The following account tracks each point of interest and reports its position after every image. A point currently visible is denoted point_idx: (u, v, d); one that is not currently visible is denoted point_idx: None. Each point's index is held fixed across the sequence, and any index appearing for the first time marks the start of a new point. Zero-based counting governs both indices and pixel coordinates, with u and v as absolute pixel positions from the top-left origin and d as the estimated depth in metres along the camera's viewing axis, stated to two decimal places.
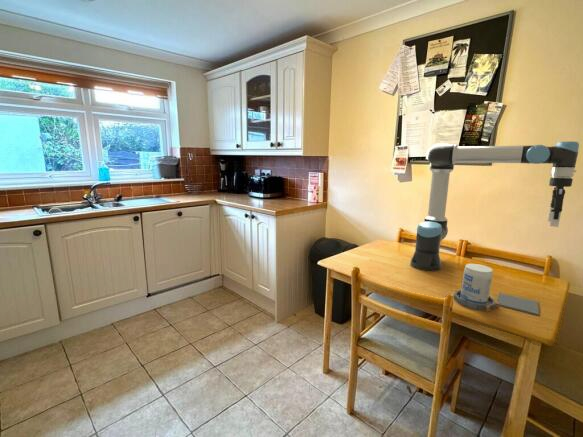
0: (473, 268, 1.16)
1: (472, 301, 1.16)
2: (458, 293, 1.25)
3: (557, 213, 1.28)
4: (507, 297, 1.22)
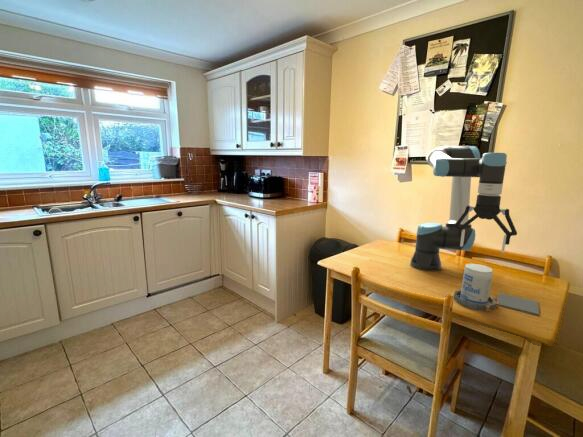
0: (473, 268, 1.16)
1: (472, 301, 1.16)
2: (458, 293, 1.25)
3: (458, 230, 1.19)
4: (507, 297, 1.22)
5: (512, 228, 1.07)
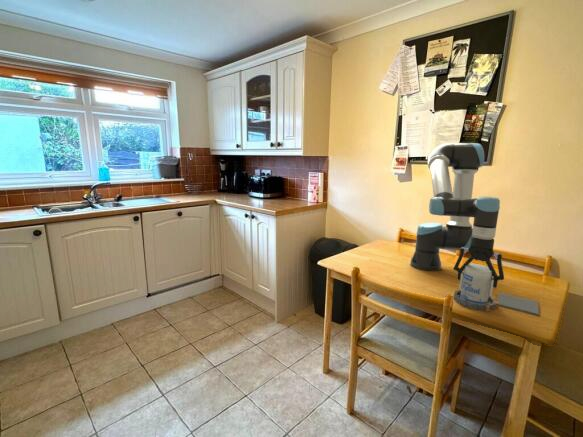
0: (473, 268, 1.16)
1: (472, 301, 1.16)
2: (458, 293, 1.25)
3: (458, 273, 1.21)
4: (507, 297, 1.22)
5: (500, 273, 1.12)
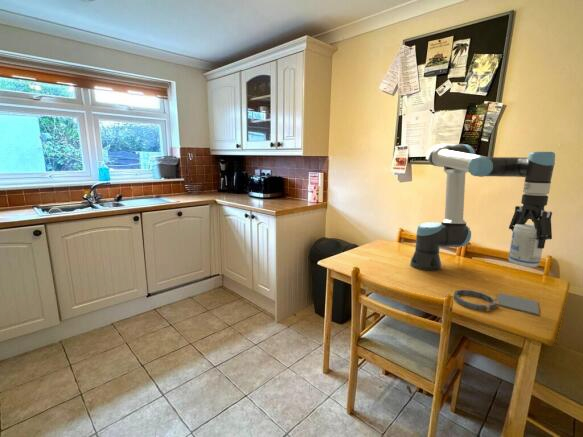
0: (519, 225, 1.13)
1: (512, 258, 1.14)
2: (458, 293, 1.25)
3: None
4: (507, 297, 1.22)
5: (543, 231, 1.05)
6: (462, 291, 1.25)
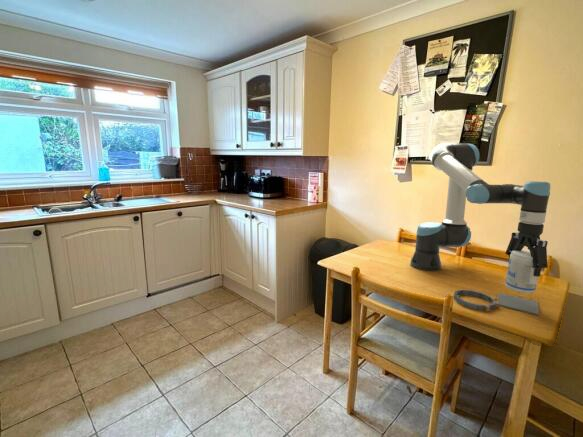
0: (516, 252, 1.16)
1: (508, 284, 1.16)
2: (458, 293, 1.25)
3: None
4: (507, 297, 1.22)
5: (539, 260, 1.07)
6: (462, 291, 1.25)
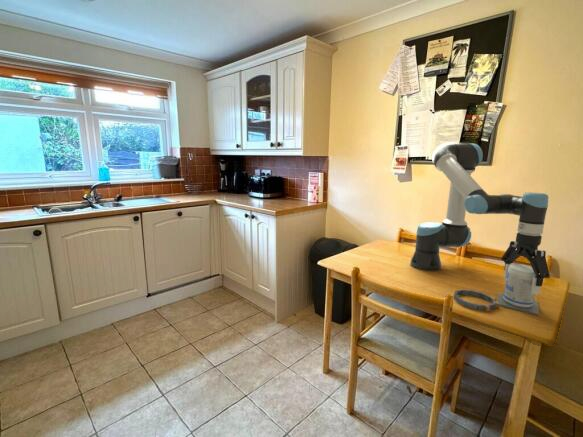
0: (514, 266, 1.16)
1: (506, 298, 1.17)
2: (458, 293, 1.25)
3: None
4: None
5: (540, 270, 1.07)
6: (462, 291, 1.25)
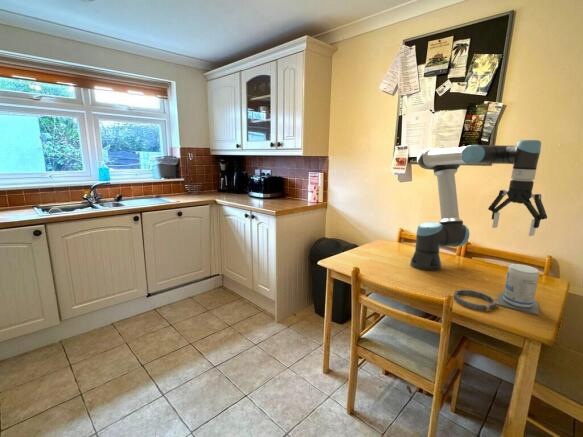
0: (514, 266, 1.16)
1: (506, 298, 1.17)
2: (458, 293, 1.25)
3: None
4: None
5: (540, 212, 1.13)
6: (462, 291, 1.25)
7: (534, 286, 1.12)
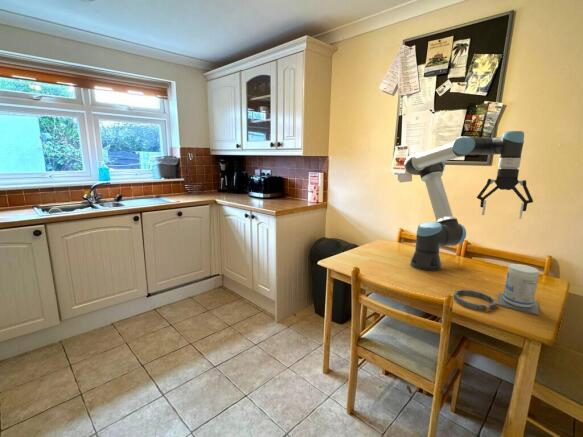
0: (514, 266, 1.16)
1: (506, 298, 1.17)
2: (458, 293, 1.25)
3: None
4: None
5: (529, 196, 1.24)
6: (462, 291, 1.25)
7: (534, 286, 1.12)
